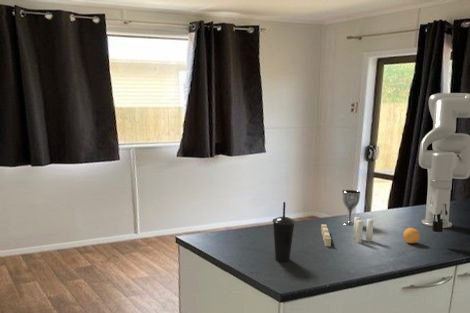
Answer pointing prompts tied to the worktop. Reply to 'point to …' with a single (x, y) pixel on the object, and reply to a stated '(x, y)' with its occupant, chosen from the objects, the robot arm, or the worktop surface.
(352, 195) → the wine glass
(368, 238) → the front pin
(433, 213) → the robot arm
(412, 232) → the ball
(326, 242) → the back wall
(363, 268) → the worktop surface
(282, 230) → the drinking cup
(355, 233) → the pin
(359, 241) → the pin
